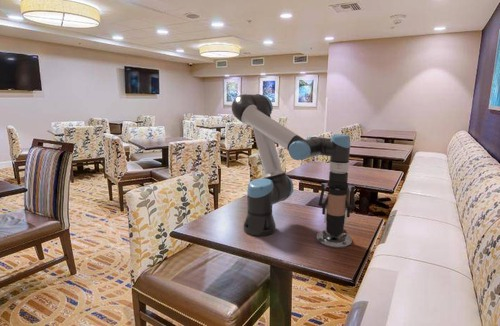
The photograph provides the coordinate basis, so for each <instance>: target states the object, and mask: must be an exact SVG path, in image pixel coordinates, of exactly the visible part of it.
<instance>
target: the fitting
mask: <svg viewBox="0 0 500 326" xmlns="http://www.w3.org/2000/svg"><path fill="white" fill-rule="evenodd" d="M316 240H317V242H318V243H320V244H321V245H322V246H326V247H328V248H334V249H344V248H348V247H349V246H351V245H352V241H353V239H352V237H351V236H350V235H348V233H346V232H343V233H342V234H341V235H333V234H329V233H328V232H327V231H326V230H322V231H319V232H318V233H317V234H316Z"/></svg>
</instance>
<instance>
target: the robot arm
mask: <svg viewBox="0 0 500 326" xmlns="http://www.w3.org/2000/svg"><path fill="white" fill-rule="evenodd" d="M273 108H274V107H273V103H272V100H271V99H270V98H269V97H267V96H266V95H264V94H259V93H257V94H244V93H243V94H240V95H238V96H236V97H234V99H233V101H232V103H231V112H232V114H233V116H234V118H236V120H238V121H240V123H242V124H244V125H249V126H250V127H252V131H253V134H254V139H255V141H256V147H257V150H258V153H259V154H258V155H259V157H260V162H261V165H262V169H263V173H264V174H263V176H262V178H256V179H253V180H251V181H249V182H248V184H247V190H246V193H247V195H246V197H247V201H246V203H247V204H246V205H247V208H246V209H247V213H246V216H245V219H244V222H243V232H244V233H246V234H247V235H250V236H257V237H266V236H270V235H273V234H274V233H276V228H277V227H276V222H275V219H274V215H273V205H275V204H277V203H280V202H283V201H286V200H287V199H288V198H290V197H291V196H292V194H293V192H294V183H293V180H292V179H291V178H290V177H289V176H288V175H287V173H286V171H284V169H282V167H281V163H280V159H279V156H278V151H277V148H276V144H278V145H279V146H280V147H282V148H284V150H286V151H288V155H289V156H290V158H291V159H293V160H295V161H302V160H306V159H309V158H312V157H316V156H324V157H330V160H329V174H328V175H329V176H328V181H327V182H322V183H321V185H320V186H321V190H320V191H321V192H320V196H319V200H318V207H321V208H322V209H321V210H322V211H321V213H322V215H324V218H323V219H324V220H323V222H324V223H326V222H327V203H328V195H326V198H325V200H324V195H325V191H326V189H327V187H328V189H329V188H331V189H334V190H335V189H340V190H345V189H348V190H349V192H350V202H351V205H350V203H349V199H348V197H347V196H346V201H345V205H346V208H345V220H344V226H347V218H350V216H351V211H352V210H355V208H356V207H355V195H354V194H355V193H354V191H355V189H356V188H355V185H350V184H349V183H348V177H349V173H348V172H349V167H350V150H351V137H350V135H348V134H342V133H341V134H339V133H333V134H332V135H331V138H326V137H320V136H319V137H318V136H307V137H306V138H303V137H301V136H300V135H299V134H297V133H295V132H294V131H292V130H291V129H289V128H288V127H286V126H284V125H283V124H281V123H279V122H277V120H274V119H273V118H272V117H271V115H272V111H273ZM323 200H324V202H323Z"/></svg>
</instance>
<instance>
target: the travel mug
mask: <svg viewBox="0 0 500 326" xmlns="http://www.w3.org/2000/svg"><path fill="white" fill-rule="evenodd" d="M347 189H348V188H347ZM347 189H345V190H340V189H335V190H334V189H331V188H329V187H328V191H327V192H328V193H327V196H328V203H327V205H326V206H327V221H326V225H325V227H326V228H325V229H326V230H325V231H327V232H328V233H329V234H333V235H341V234H342V233H344V227H345V225H344V221H345V208H347V207H346V205H345V201H346V197H347V192H348V190H347Z"/></svg>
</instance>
